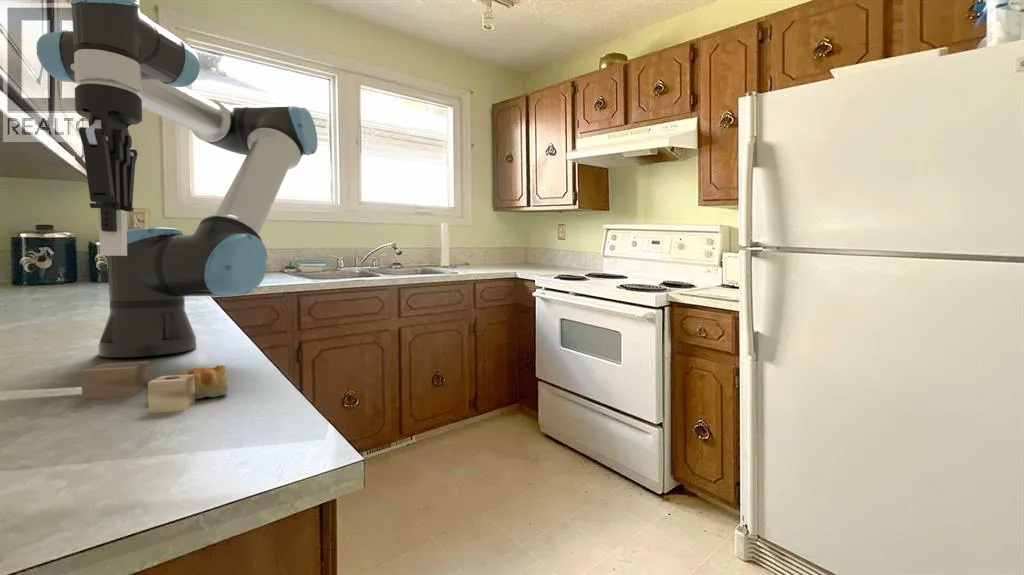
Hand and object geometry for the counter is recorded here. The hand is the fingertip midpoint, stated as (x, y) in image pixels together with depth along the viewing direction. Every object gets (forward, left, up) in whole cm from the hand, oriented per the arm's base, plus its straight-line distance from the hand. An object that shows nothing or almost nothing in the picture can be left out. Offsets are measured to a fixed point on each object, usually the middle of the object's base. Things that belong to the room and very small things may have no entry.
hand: (113, 255), depth 72 cm
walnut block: (0, 0, -21) cm, 21 cm away
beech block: (+11, +10, -21) cm, 25 cm away
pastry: (+4, +9, -21) cm, 23 cm away
